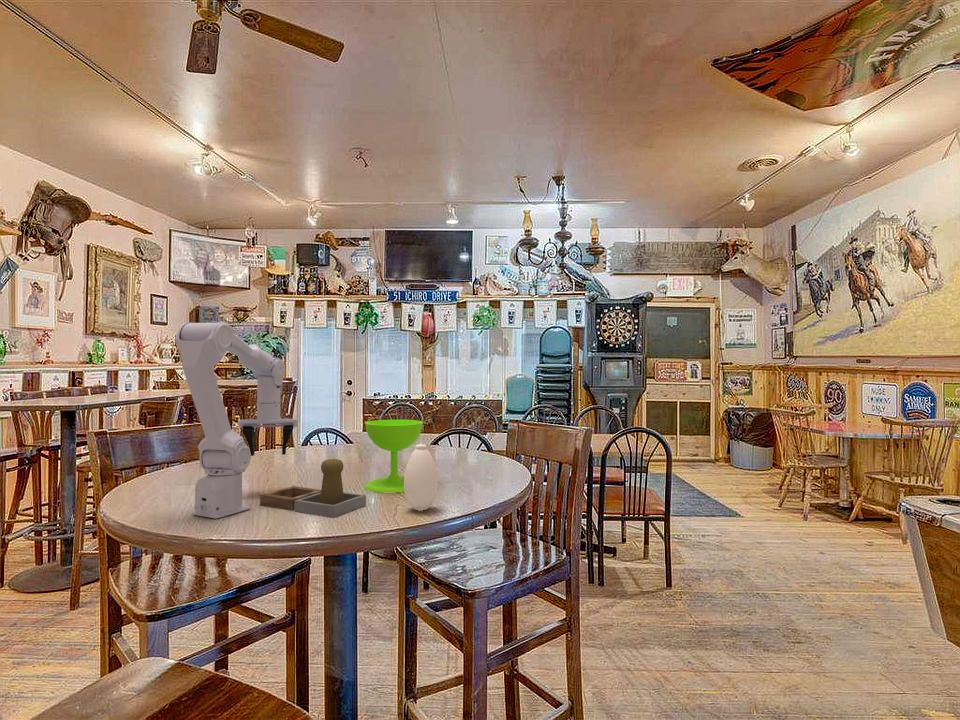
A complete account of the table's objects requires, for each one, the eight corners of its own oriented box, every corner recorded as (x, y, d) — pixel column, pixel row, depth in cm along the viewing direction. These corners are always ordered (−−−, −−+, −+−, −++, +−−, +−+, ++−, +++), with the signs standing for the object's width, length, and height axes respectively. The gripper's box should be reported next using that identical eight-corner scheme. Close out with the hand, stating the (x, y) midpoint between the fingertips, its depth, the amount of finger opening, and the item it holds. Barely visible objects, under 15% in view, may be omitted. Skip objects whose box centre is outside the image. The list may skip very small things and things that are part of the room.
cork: (343, 508, 125) (343, 461, 125) (316, 509, 124) (317, 461, 124) (346, 502, 131) (346, 457, 131) (321, 502, 130) (321, 457, 130)
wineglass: (358, 492, 143) (358, 425, 143) (372, 480, 159) (372, 419, 159) (417, 493, 142) (418, 425, 142) (426, 480, 158) (426, 419, 158)
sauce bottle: (444, 508, 127) (444, 432, 127) (424, 516, 120) (424, 436, 120) (417, 504, 131) (418, 430, 131) (397, 511, 124) (397, 434, 124)
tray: (333, 517, 119) (333, 506, 119) (294, 511, 124) (294, 500, 124) (365, 505, 130) (366, 495, 130) (328, 500, 135) (328, 490, 135)
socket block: (292, 510, 125) (293, 499, 125) (260, 505, 129) (260, 494, 129) (324, 500, 134) (324, 490, 134) (292, 495, 139) (292, 486, 139)
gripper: (298, 401, 147) (298, 451, 146) (241, 402, 143) (240, 453, 142) (297, 403, 140) (296, 455, 140) (237, 404, 136) (236, 457, 136)
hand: (268, 454), depth 141 cm, fingers open, 7 cm apart
